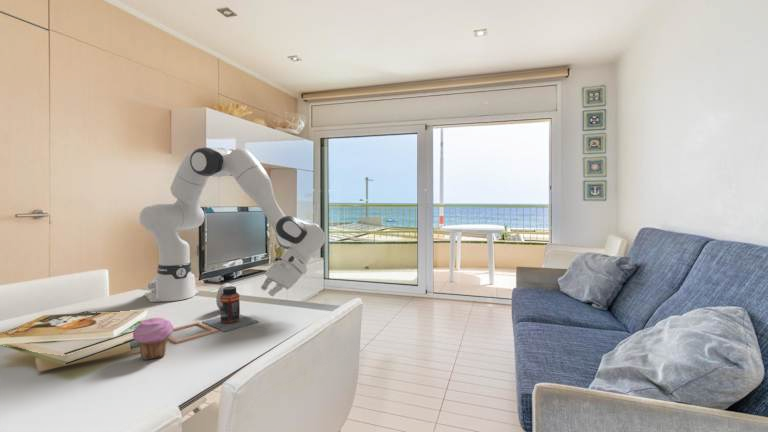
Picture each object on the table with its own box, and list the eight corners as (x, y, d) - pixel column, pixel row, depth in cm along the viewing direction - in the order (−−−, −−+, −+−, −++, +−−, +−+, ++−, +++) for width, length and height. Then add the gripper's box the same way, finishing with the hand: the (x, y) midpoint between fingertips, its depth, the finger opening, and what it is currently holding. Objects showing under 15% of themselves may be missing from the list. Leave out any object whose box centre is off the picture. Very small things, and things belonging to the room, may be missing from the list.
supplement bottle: (243, 318, 122) (242, 285, 122) (234, 324, 116) (233, 290, 116) (226, 317, 123) (226, 285, 122) (216, 323, 117) (216, 289, 117)
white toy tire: (224, 314, 128) (223, 286, 127) (214, 314, 128) (214, 286, 128) (236, 306, 138) (236, 280, 137) (227, 306, 138) (227, 280, 138)
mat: (202, 322, 119) (202, 321, 119) (235, 313, 129) (235, 312, 129) (224, 332, 111) (224, 331, 111) (258, 322, 120) (258, 320, 120)
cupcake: (131, 366, 88) (131, 326, 87) (135, 353, 95) (134, 316, 95) (174, 358, 92) (173, 320, 92) (173, 346, 100) (173, 311, 99)
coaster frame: (158, 333, 109) (158, 332, 109) (199, 323, 118) (199, 321, 118) (176, 343, 102) (176, 341, 102) (217, 331, 111) (217, 329, 111)
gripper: (277, 252, 138) (251, 281, 133) (296, 260, 121) (268, 292, 116) (289, 263, 141) (264, 291, 136) (309, 271, 124) (281, 304, 119)
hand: (266, 292), depth 126 cm, fingers open, 8 cm apart
